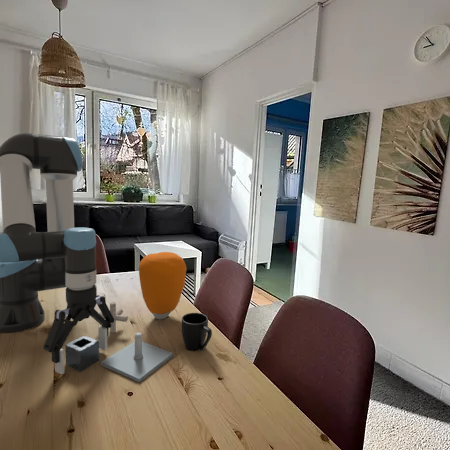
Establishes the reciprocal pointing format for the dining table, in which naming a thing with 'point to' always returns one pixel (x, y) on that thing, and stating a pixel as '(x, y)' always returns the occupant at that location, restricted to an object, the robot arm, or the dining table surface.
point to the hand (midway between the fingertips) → (82, 359)
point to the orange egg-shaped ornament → (162, 282)
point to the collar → (82, 353)
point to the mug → (195, 331)
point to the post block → (137, 359)
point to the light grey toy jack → (115, 316)
